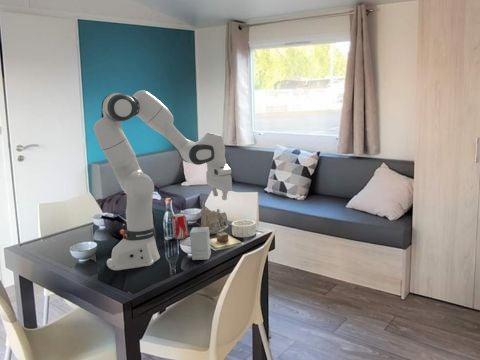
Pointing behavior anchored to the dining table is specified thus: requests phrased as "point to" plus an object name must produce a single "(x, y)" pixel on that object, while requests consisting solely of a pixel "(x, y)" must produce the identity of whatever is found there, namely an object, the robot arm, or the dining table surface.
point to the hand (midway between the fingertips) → (220, 197)
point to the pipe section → (243, 228)
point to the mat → (225, 247)
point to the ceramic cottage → (213, 220)
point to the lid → (223, 241)
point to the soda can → (179, 226)
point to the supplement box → (200, 243)
